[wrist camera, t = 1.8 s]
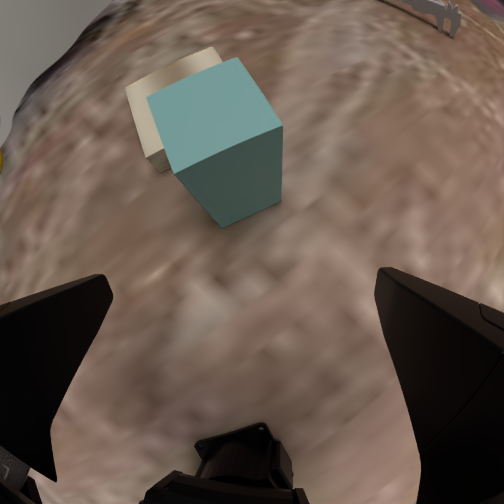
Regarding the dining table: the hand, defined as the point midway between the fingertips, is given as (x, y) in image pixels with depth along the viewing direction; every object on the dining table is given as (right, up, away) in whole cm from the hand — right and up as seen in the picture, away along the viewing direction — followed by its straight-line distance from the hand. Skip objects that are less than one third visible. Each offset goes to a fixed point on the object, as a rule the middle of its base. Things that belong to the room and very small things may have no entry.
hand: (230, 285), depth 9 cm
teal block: (0, +6, +14) cm, 15 cm away
